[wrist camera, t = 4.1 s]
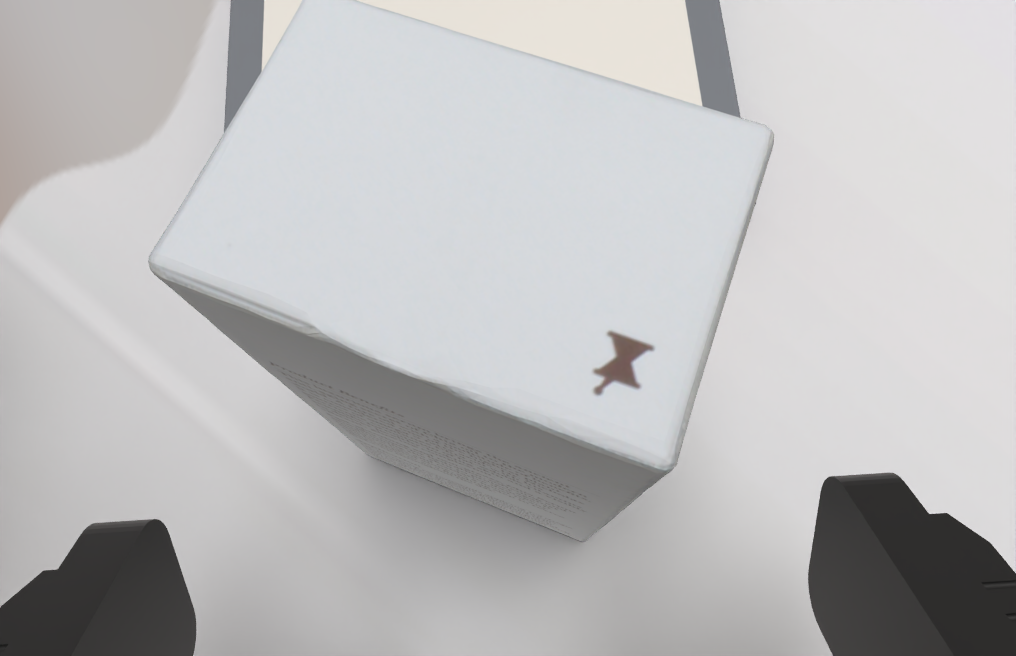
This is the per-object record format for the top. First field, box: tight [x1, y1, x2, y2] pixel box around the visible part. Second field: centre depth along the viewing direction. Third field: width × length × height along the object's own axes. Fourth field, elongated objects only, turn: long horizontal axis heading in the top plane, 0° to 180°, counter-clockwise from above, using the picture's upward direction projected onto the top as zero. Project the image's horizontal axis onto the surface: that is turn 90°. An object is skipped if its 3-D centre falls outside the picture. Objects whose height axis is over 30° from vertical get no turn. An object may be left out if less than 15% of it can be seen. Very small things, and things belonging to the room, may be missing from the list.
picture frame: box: [224, 0, 756, 204], centre depth 22 cm, size 14×10×1 cm
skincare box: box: [148, 0, 774, 542], centre depth 14 cm, size 6×4×12 cm
